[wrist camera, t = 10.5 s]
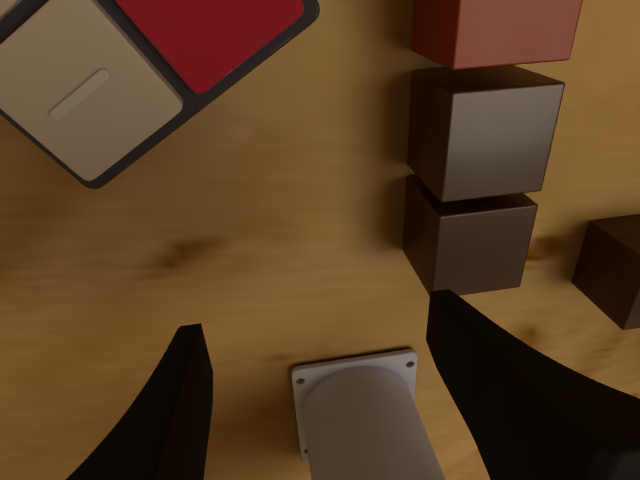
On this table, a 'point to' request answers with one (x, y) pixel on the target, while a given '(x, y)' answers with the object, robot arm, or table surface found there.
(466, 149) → the T block
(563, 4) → the block
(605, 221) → the I block back
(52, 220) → the table surface
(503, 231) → the dark brown cube block
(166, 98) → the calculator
